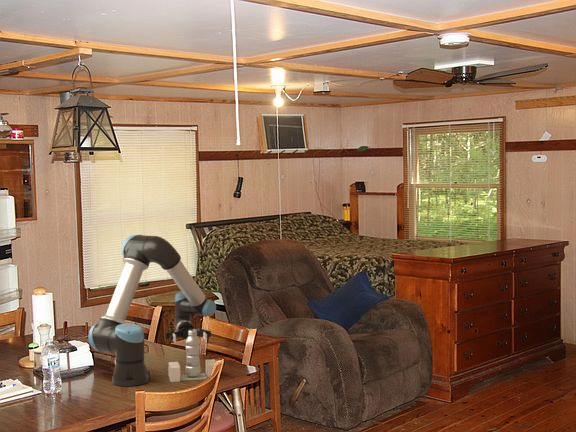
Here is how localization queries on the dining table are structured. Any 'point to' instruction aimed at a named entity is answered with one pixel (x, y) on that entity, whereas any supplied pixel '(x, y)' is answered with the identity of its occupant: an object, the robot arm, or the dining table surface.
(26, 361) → the dining table surface
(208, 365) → the gap blocks
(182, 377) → the gap mat
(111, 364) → the dining table surface
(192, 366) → the plastic bottle
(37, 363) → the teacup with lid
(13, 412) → the dining table surface
